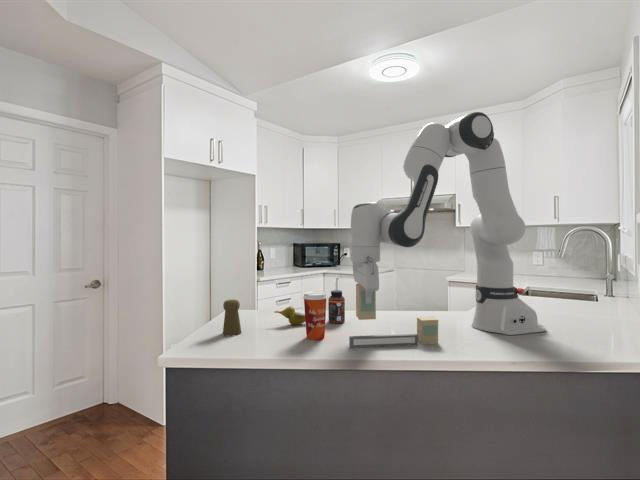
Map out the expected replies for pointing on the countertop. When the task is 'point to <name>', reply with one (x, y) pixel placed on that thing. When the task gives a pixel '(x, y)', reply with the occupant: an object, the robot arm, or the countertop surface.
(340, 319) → the supplement bottle
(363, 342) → the rail
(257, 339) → the countertop surface
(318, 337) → the paper cup
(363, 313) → the tan rectangular block
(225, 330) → the cork
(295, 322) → the yellow toy bird
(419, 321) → the tea box
